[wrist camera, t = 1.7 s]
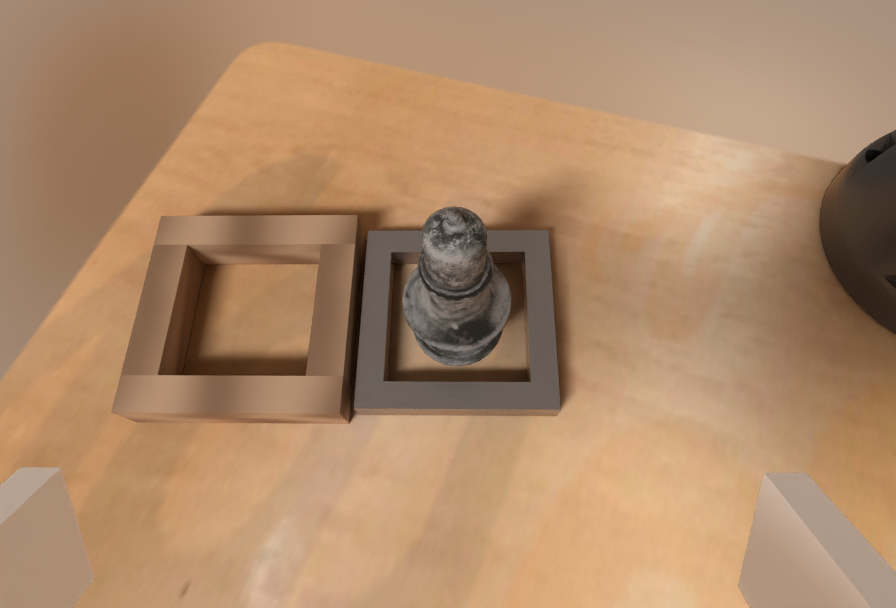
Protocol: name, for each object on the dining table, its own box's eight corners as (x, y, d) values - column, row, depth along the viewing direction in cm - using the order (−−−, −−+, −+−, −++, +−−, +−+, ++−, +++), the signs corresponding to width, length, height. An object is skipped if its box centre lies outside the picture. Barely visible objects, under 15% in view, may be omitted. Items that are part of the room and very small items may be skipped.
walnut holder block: (364, 236, 36) (357, 214, 34) (349, 423, 31) (339, 413, 29) (180, 237, 36) (161, 215, 34) (136, 422, 32) (111, 412, 29)
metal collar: (545, 242, 36) (548, 229, 34) (556, 415, 31) (560, 409, 30) (371, 242, 36) (368, 230, 34) (358, 414, 31) (353, 408, 30)
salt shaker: (440, 263, 35) (428, 133, 24) (524, 306, 34) (552, 189, 23) (389, 340, 33) (351, 237, 22) (476, 389, 32) (481, 304, 21)
